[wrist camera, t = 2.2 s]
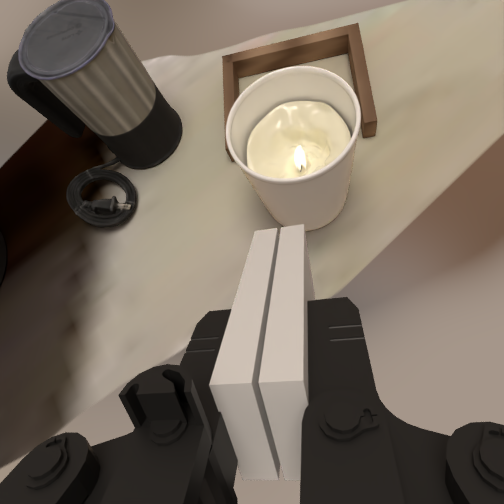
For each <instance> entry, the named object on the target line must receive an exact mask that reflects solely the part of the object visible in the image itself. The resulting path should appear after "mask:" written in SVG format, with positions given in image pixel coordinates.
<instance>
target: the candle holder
mask: <svg viewBox="0 0 504 504" xmlns="http://www.w3.org/2000/svg"><path fill="white" fill-rule="evenodd" d="M360 124H361V110H360V105H359V101H358V99H357V96H356V94H355V93H354V91H353V89H352V88H351V87H350V86H349V84H348V83H347V82H346V81H345V80H343V79H342V78H341V77H339V76H338V75H336V74H334V73H333V72H330V71H328V70H325V69H322V68H318V67H312V66H293V67H287V68H283V69H279V70H276V71H273V72H271V73H269V74H266V75H264V76H263V77H261V78H259V79H258V80H256V81H255V82H253V83H252V84H251V85H250V86H248V87H247V88H246V89H245V90H244V91H243V92H242V93H241V95H240V96H239V97H238V98H237V100H236V101H235V103H234V105H233V106H232V108H231V110H230V113H229V116H228V119H227V124H226V141H227V146H228V149H229V151H230V154H231V156H232V157H233V159H234V161H235V162H236V163H237V164H238V166H239V167H240V168H241V170H242V171H243V173H244V174H245V176H246V177H247V179H248V180H249V182H250V184H251V185H252V187H253V188H254V190H255V191H256V193H257V194H258V196H259V197H260V199H261V201H262V202H263V204H264V205H265V207H266V208H267V210H268V211H269V213H270V214H271V215H272V217H273V218H274V219H275V220H276V221H277V222H279V223H280V224H281V225H283V226H285V227H287V226H294V225H301V224H304V227H305V231H311V230H315V229H319V228H321V227H324V226H326V225H327V224H329V223H330V222H332V221H333V220H334V219H335V218H336V217H337V216H338V215H339V214H340V212H341V211H342V209H343V207H344V205H345V202H346V199H347V195H348V190H349V184H350V178H351V172H352V166H353V160H354V154H355V148H356V141H357V136H358V133H359V129H360Z"/></svg>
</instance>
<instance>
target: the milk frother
mask: <svg viewBox="0 0 504 504" xmlns="http://www.w3.org/2000/svg"><path fill="white" fill-rule="evenodd" d="M7 81H8V84H9V86H10V88H11V89H12V90H13V91H14V92H15V94H16V95H17V96H19V97H20V98H21V99H22V100H24V101H25V102H27V103H28V104H29V105H30V106H32V107H33V108H34V109H36V110H37V111H38V112H39V113H41V114H42V115H43V116H44V117H46V118H47V119H48V120H50V121H51V122H52V123H54V124H55V125H56V126H58V127H59V128H60V129H61V130H63V131H64V132H65V133H67V134H68V135H70V136H71V137H75V138H78V137H81V135H82V133H83V130H84V127H85V124H86V125H87V126H88V127H89V128H90V129H91V130H92V131H93V132H94V133H95V134H96V135H97V136H98V137H99V138H100V139H101V140H102V141H103V142H104V143H105V144H106V145H107V146H108V148H109V149H110V150H111V151H112V153H115V155H116V158H115V159H113V160H112V161H110V162H108V163H106V164H103V165H100V166H97V167H93V168H91V169H89V170H86V171H84V172H82V173H80V174H79V175H77V176H76V177H75V178H74V179H73V180H72V181H71V182H70V184H69V186H68V188H67V193H66V194H67V201H68V203H69V205H70V207H71V208H72V210H73V211H74V212H75V213H76V215H78V216H79V217H80V218H81V219H83V220H84V221H86V222H87V223H89V224H92V225H94V226H98V227H112V226H116V225H119V224H121V223H123V222H124V221H126V220H127V219H128V218H129V217H130V216H131V214H132V213H133V211H134V209H135V205H136V191H135V188H134V186H133V185H132V183H131V182H130V181H129V179H128V178H127V177H125V176H124V175H122V174H121V173H118V172H116V171H111V170H102V168H104V167H107V166H110V165H113V164H115V163H117V162H119V161H120V162H121V163H122V164H124V165H125V166H127V167H130V168H136V169H143V168H149V167H152V166H155V165H157V164H159V163H161V162H162V161H163V160H165V159H166V158H168V157H169V156H170V155H171V154H172V152H173V151H174V150H175V148H176V147H177V145H178V143H179V141H180V138H181V134H182V123H181V119H180V117H179V115H178V114H177V113H176V111H175V110H174V109H172V108H171V107H170V105H169V104H168V103H167V101H166V100H165V98H164V97H163V96H162V94H161V93H160V91H159V90H158V88H157V87H156V85H155V84H154V82H153V80H152V79H151V77H150V76H149V74H148V72H147V71H146V69H145V67H144V66H143V64H142V63H141V61H140V60H139V58H138V57H137V55H136V53H135V52H134V50H133V49H132V47H131V45H130V44H129V42H128V41H127V39H126V38H125V36H124V34H123V33H122V31H121V30H120V28H119V27H118V25H117V23H116V22H115V20H114V19H113V15H112V11H111V8H110V6H109V5H108V3H107V2H106V1H104V0H60V1H58V2H57V3H55V4H53V5H51V6H50V7H48V8H47V9H46V10H45V11H43V12H42V13H40V14H39V15H38V16H37V17H36V18H35V19H34V21H33V22H32V23H31V24H30V25H29V26H28V28H27V29H26V30H25V32H24V35H23V38H22V40H21V43H20V45H19V49H18V50H17V51H16V52H15V54H14V55H13V57H12V59H11V61H10V64H9V67H8V72H7ZM102 179H106V180H110V181H113V182H115V183H117V184H118V185H120V186H121V187H122V188H123V189H124V191H125V193H126V203H119V202H118V201H117V199H116V197H115V196H113V197H112V199H101V200H94V201H93V202H90V201H87V200H85V201H83V200H82V197H81V193H82V191H83V189H84V188H85V187H86V186H87V185H88V184H89V183H91V182H94V181H96V180H102ZM99 214H100V215H99Z"/></svg>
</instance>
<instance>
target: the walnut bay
mask: <svg viewBox="0 0 504 504" xmlns="http://www.w3.org/2000/svg"><path fill="white" fill-rule="evenodd" d="M345 53H348V56H349V61H350V67H351V73H352V78H353V84H354V90H355V94H356V96H357V99H358V101H359V105H360V110H361V129H362V135H363V138H366V137H372V136H375V133H376V126H377V116H376V111H375V106H374V101H373V96H372V91H371V86H370V81H369V76H368V70H367V65H366V60H365V55H364V50H363V45H362V40H361V35H360V30H359V25H358V23H356V24H352V25H348V26H344V27H339V28H335V29H331V30H327V31H323V32H319V33H315V34H311V35H307V36H303V37H299V38H295V39H291V40H287V41H283V42H279V43H275V44H271V45H266V46H262V47H258V48H254V49H250V50H246V51H242V52H238V53H234V54H230V55H226V56H222V59H223V88H224V118H225V147H226V151H227V153H228V155H229V157H230V158H231V160H232V162H234V159H233V157H232V156H231V154H230V151H229V149H228V146H227V141H226V124H227V119H228V116H229V113H230V110H231V108H232V106H233V105H234V103H235V101H236V100H237V98H238V97H239V79H238V78H241V77H246V76H250V75H254V74H259V73H263V72H267V71H272V70H276V69H280V68H285V67H289V66H293V65H298V64H302V63H306V62H310V61H315V60H319V59H323V58H328V57H332V56H336V55H341V54H345Z"/></svg>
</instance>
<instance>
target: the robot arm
mask: <svg viewBox="0 0 504 504" xmlns="http://www.w3.org/2000/svg"><path fill="white" fill-rule="evenodd" d="M6 255H7V253H6V245H5V241H4V238H3V235H2V233H1V232H0V284H1V281H2V278H3V275H4V271H5V267H6ZM119 397H120V399H121V401H122V403H123V405H124V407H125V409H126V411H127V413H128V415H129V417H130V419H131V421H132V423H133V424H134V427H135V429H134V431H133V432H132V433H129V434H127V435H125V436H122V437H119V438H116V439H112V440H110V441H106V442H103V443H101V444H97V445H94V446H90V445H89V443H88V441H87V440H86V438H85V437H83V436H82V435H80V434H79V433H63V434H60V435H57V436H54V437H51V438H50V439H48V440H46V441H45V442H43V443H41V444H40V445H38V446H37V447H35V448H34V449H33V450H32V451H31V452H30V453H29V454H28V455H27V456H25V457H24V458H23V459H22V460H21V461H20V463H19V464H18V465H17V466H16V467H15V468H14V469H13V470H12V471H11V472H10V473H9V475H8V476H7V477H6V478H5V479H4V480H3V481H2V482H1V483H0V504H237V497H236V494H235V491H234V489H233V487H234V481H235V475H236V469H237V465H238V468H239V471H240V474H241V476H242V479H243V480H279V469H280V464H281V468H282V472H283V475H284V479H285V480H301V483H300V484H301V485H300V504H504V425H501V424H496V423H493V422H475V423H469V424H467V425H465V426H463V427H460V428H458V429H456V430H455V431H454V433H453V434H452V436H448V435H444V434H440V433H436V432H433V431H428V430H424V429H421V428H418V427H416V426H413V425H410V424H407V423H406V422H404V421H402V420H400V419H399V418H397V417H396V416H394V415H393V414H392V413H391V412H390V411H389V410H388V409H387V408H386V407H385V406H384V404H383V403H382V402H381V400H380V399H379V396H378V393H377V391H376V387H375V383H374V378H373V373H372V369H371V364H370V359H369V355H368V350H367V346H366V342H365V337H364V333H363V328H362V324H361V319H360V314H359V310H358V308H357V307H356V306H355V305H354V304H353V303H352V302H351V301H350V300H349V299H348V298H347V297H343V298H332V299H321V300H315V292H314V286H313V279H312V273H311V266H310V260H309V253H308V247H307V240H306V234H305V227H304V224H301V225H294V226H287V227H281V231H280V238H279V234H278V228H272V229H265V230H258V231H255V233H254V236H253V240H252V243H251V246H250V250H249V253H248V256H247V260H246V263H245V266H244V270H243V273H242V276H241V280H240V283H239V287H238V290H237V293H236V297H235V300H234V303H233V307H232V309H229V310H218V311H209V312H208V313H207V314H206V315H205V316H204V317H203V318H202V319H201V320H200V321H199V322H198V323H197V325H196V327H195V330H194V332H193V335H192V337H191V341H190V342H189V344H188V347H187V349H186V353H185V354H184V356H183V359H182V361H181V363H180V366H179V365H169V364H166V365H161V366H156V367H153V368H151V369H148V370H146V371H144V372H142V373H140V374H139V375H137V376H136V377H135V378H134V379H132V380H131V381H130V382H129V383H127V385H126V386H125V387H124V389H123V390H122V391H121V393H120V394H119Z"/></svg>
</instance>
